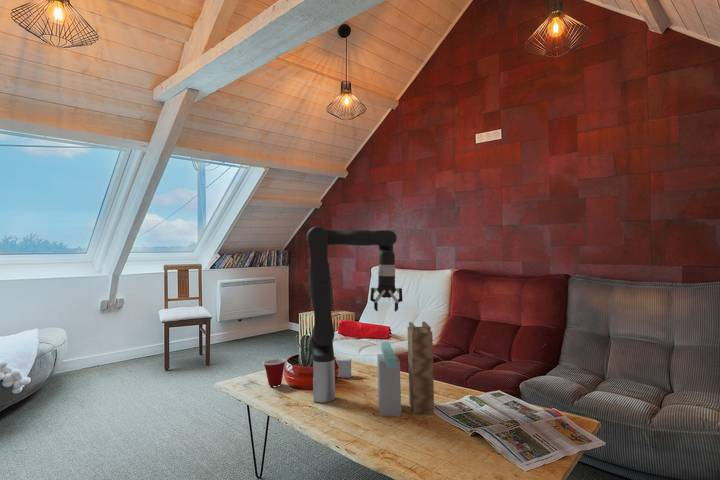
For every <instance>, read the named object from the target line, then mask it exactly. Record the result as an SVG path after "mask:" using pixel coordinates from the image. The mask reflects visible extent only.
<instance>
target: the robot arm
mask: <svg viewBox="0 0 720 480" xmlns="http://www.w3.org/2000/svg"><path fill="white" fill-rule="evenodd" d="M305 238H306V242H307V244H308V248H309V249H308V250H309V256H310V257H309V258H310V265H309V275H308V276H309V278H308V279H309V280H308V281H309V292H310V293H309V294H310V300H311V305H312V309H313V313H314V315H313V317H314V321H313V322H314V325H313V327H312V329H311V350H312V351H311V352H312V367H313V368H312V369H313V370H312V371H313V374H312V375H313V379H312V390H313V391H312V396H313V397H312V400H313V401H314V402H315V403H323V404H324V403H326V404H327V403H330V402H331V403H332V402H333V401H334V400H335V399H336V384H335V383H336V381H335V380H336V378H335V351H334V338H335V329H334V328H335V327H334V324H333V316H332V281H331V272H330V266H329V265H330V264H329V260H328V252H329V251H328V249H329V247H328V246H332V245H333V246H334V245H335V246H336V245H347V246H358V247H359V246H361V247H364V246H365V247H366V246H367V247H368V246H369V247H370V246H371V247H372V246H378V252H379V257H378V269H377V270H378V271H377V274H378V280H377V281H378V282H377V284H378V285H377V287H371V288H370V299H369V300H370V301H371V302H373V308H374V310H375V312H378V310H379V309H378V308H379V307H378V303H379V301H380V299H381V298H387V299H390V298H392V299H393V300H394V312H397V311H398V310H399V303H401V302H403V301H404V300H403V289H402V287H399V288H396V265H395V263H396V257H395V256H396V254H395V252H394V244H395V243H396V242H397V239H398V238H397V234H396V232H395V231H393V230H391V229H385V230H370V229H351V230H350V229H347V230H334V229H332V230H331V229H327V228H324V227H322V226H318V225H317V226H313V227H311V228H310V229H309V230H308V231H307V233H306V237H305ZM376 292H378V295H377V296H376V297H375V298H374V295H375V293H376ZM395 293H397V294H398V299H397V296H395V295H394V294H395Z"/></svg>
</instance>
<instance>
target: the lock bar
mask: <svg viewBox="0 0 720 480" xmlns="http://www.w3.org/2000/svg"><path fill="white" fill-rule="evenodd" d="M380 345H381V347H380V348H381V354H383V357H384V360H385V363H386V366H387V368H397V367H396V356H395V354H396V353H395V351H394V350H393V347H392V345H391V343H390V341H381V344H380Z"/></svg>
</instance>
